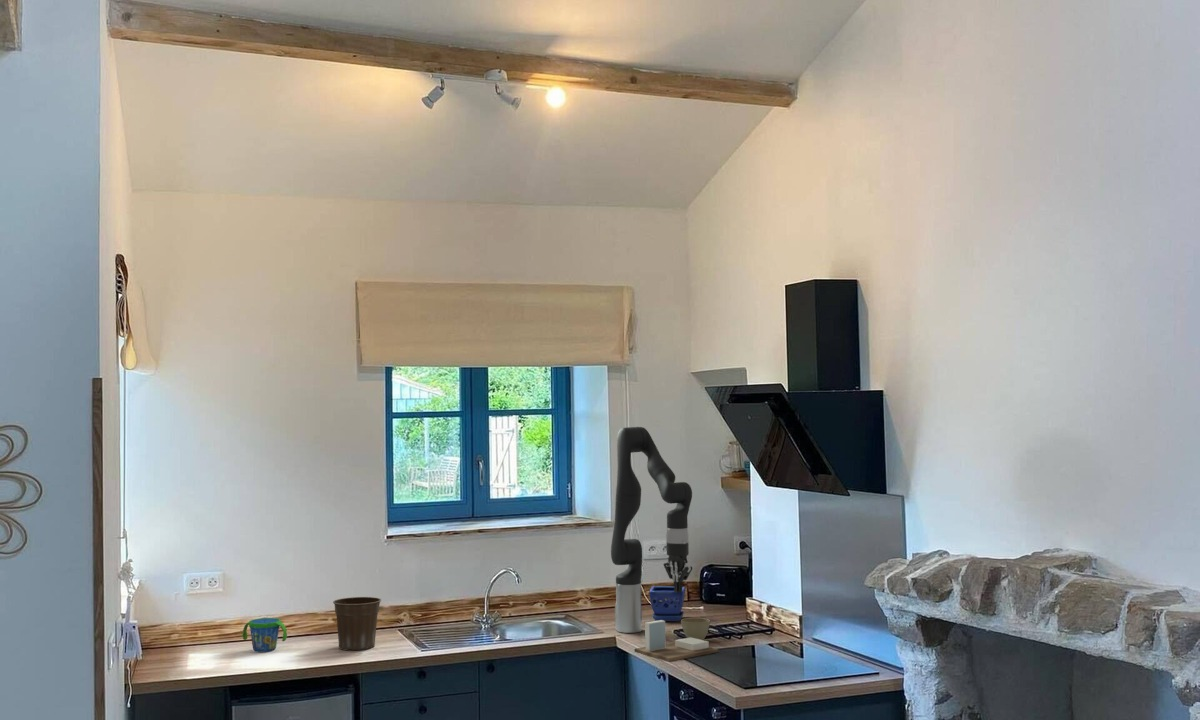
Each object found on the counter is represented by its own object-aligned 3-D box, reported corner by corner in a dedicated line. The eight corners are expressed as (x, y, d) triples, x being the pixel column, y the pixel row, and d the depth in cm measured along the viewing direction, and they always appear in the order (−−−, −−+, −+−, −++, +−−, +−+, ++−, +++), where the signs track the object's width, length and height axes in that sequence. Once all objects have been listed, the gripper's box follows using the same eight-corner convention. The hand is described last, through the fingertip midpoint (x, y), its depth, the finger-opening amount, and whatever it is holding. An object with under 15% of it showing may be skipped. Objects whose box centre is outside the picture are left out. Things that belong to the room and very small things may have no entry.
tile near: (645, 650, 345) (645, 622, 345) (661, 647, 349) (661, 620, 350) (649, 651, 343) (649, 623, 344) (665, 648, 347) (665, 620, 348)
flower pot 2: (708, 644, 357) (708, 623, 358) (679, 643, 359) (679, 622, 360) (711, 638, 367) (711, 617, 367) (683, 637, 369) (682, 617, 369)
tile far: (675, 640, 350) (692, 644, 342) (690, 637, 354) (708, 641, 347) (675, 646, 350) (692, 651, 342) (691, 643, 354) (708, 648, 346)
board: (634, 651, 347) (634, 648, 347) (682, 643, 359) (682, 640, 360) (669, 661, 333) (669, 658, 333) (718, 652, 345) (717, 648, 345)
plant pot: (365, 640, 373) (365, 594, 374) (390, 646, 362) (390, 599, 363) (324, 647, 362) (324, 600, 363) (349, 654, 350) (348, 605, 351)
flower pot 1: (652, 616, 411) (651, 585, 412) (686, 616, 409) (685, 585, 410) (649, 622, 398) (648, 590, 399) (684, 622, 396) (683, 591, 397)
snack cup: (293, 648, 362) (293, 618, 362) (275, 654, 352) (275, 624, 352) (254, 646, 366) (254, 616, 367) (235, 652, 356) (235, 622, 357)
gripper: (656, 540, 358) (657, 591, 358) (681, 544, 348) (682, 596, 347) (673, 538, 363) (674, 588, 362) (698, 542, 352) (699, 593, 351)
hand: (678, 592), depth 355 cm, fingers closed
